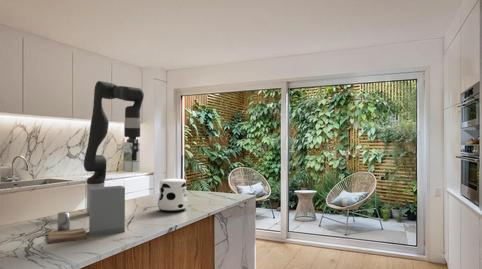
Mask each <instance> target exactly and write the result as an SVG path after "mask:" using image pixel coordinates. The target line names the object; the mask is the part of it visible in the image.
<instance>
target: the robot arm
mask: <svg viewBox="0 0 482 269" xmlns="http://www.w3.org/2000/svg"><path fill="white" fill-rule="evenodd" d="M93 92H94V93H93V106H92V107H93V108H92V114H91V122H90V127H89V135H88V143H87V147H86V151H85V155H84V160H83V168H84V170H85V171H86V172H88V173H89V172H90V173H91V172H94V173H93V174H92V175H91V176H90V177H88V178H87V179H86V215H89V201H90V188H94V187H105V179H106V178H107V158H106V157H105V156H104V155H102V154H97V151H98V150H99V149H98V148H99V146H100V145H101V144H102V142H103V141H104V140H105V138H106V137H107V134H108V132H109V125H110V124H109V119H108V117H107V114H106V113H105V111H104V108H103V102H102V100H103V99H105V100H113V99H117V100H122V101H124V102H132V103H133V104H132V105H128V106H125V109H124V133H123V134H124V135H123V137H125V138H127V139H126V142H129V143H132V146H131V145H130V149H131V152H132V161H136V160H137V152H138V142H139V139H138V138H140V137H141V107H142V103H143V101H144V98H145V97H144V96H145V94H144V91H143V89H142V88H139V87H134V86H125V85H124V86H123V85H116V84H115V83H112V82H107V81H100V80H98V81H96V83H95V85H94V90H93ZM134 146H136V147H134Z"/></svg>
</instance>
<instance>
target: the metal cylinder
mask: <svg viewBox="0 0 482 269" xmlns="http://www.w3.org/2000/svg"><path fill="white" fill-rule="evenodd" d="M70 223H71V211H60V212H57V231H65V230H71V228H70V227H71V225H70Z"/></svg>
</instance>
